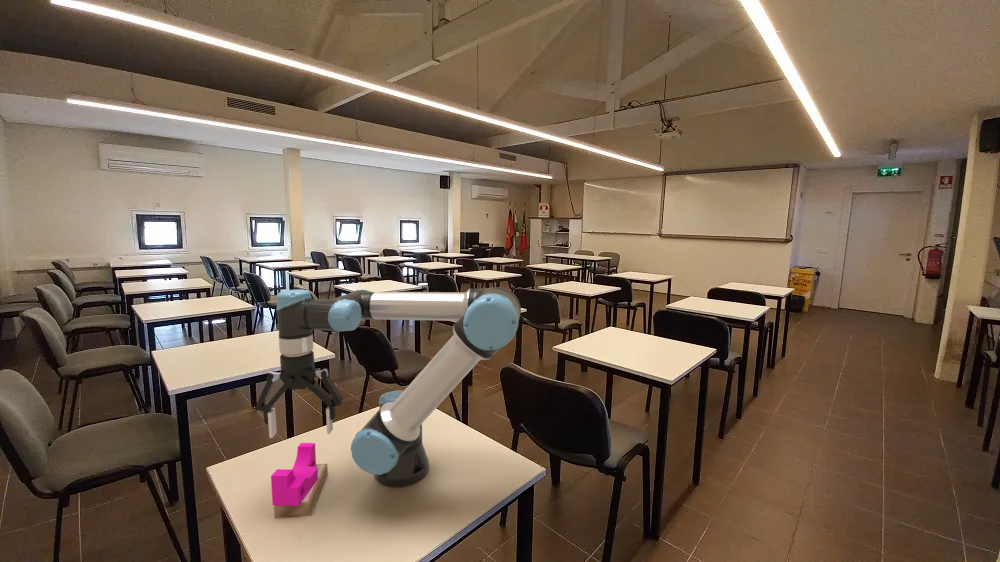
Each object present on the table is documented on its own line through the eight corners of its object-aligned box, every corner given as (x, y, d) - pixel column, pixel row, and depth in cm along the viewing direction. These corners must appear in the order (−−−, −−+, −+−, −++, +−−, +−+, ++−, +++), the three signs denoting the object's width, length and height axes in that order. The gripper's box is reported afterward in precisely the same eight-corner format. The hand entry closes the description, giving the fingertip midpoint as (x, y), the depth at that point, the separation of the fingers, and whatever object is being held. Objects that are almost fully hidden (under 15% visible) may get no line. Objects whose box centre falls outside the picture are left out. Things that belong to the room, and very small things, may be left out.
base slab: (327, 473, 115) (327, 463, 115) (310, 515, 99) (309, 503, 98) (297, 475, 114) (296, 465, 114) (274, 518, 97) (273, 506, 97)
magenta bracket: (298, 505, 97) (297, 476, 96) (272, 505, 97) (270, 475, 96) (325, 468, 112) (324, 443, 111) (302, 468, 112) (301, 442, 111)
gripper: (352, 345, 107) (355, 422, 110) (248, 350, 103) (255, 429, 106) (346, 354, 100) (350, 436, 103) (234, 359, 96) (241, 444, 98)
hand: (301, 433), depth 104 cm, fingers open, 13 cm apart
